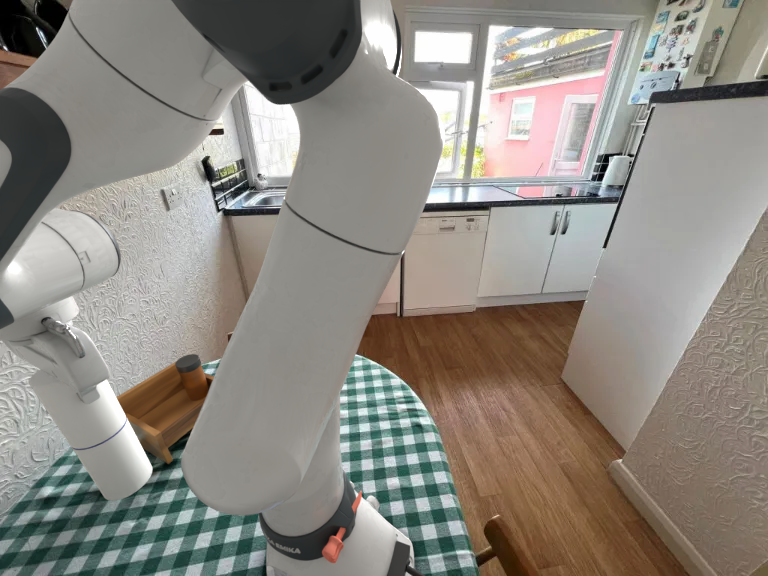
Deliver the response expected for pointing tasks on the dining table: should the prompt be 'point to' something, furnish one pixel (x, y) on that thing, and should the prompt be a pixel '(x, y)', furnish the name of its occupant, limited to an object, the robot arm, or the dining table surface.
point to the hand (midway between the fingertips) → (76, 391)
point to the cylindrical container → (96, 435)
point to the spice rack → (166, 404)
